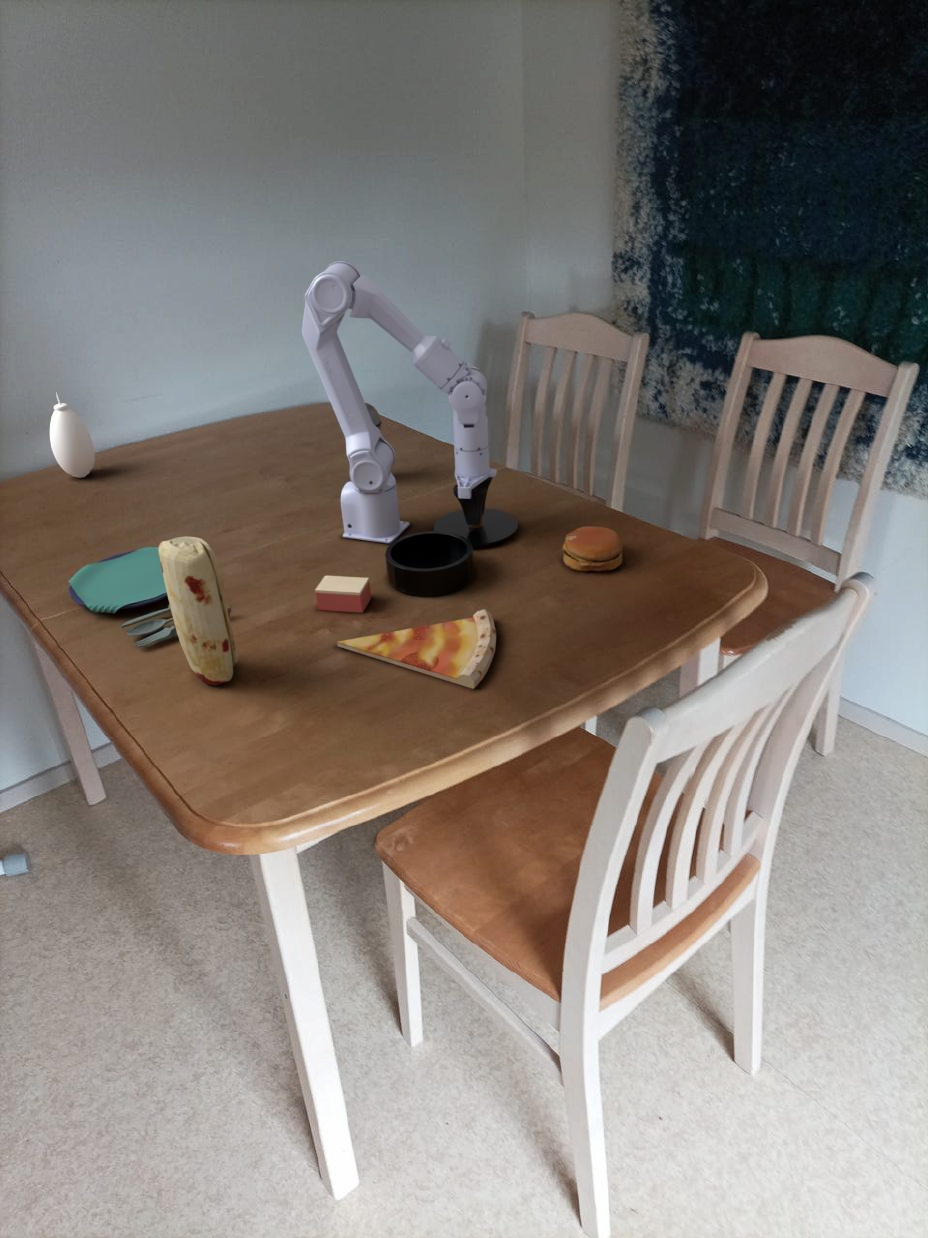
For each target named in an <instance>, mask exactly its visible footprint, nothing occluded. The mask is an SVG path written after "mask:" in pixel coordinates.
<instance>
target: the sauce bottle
mask: <svg viewBox="0 0 928 1238" xmlns="http://www.w3.org/2000/svg"><path fill="white" fill-rule="evenodd" d="M55 396H56V399H57V404H55V405H53V413H52V415H51V418H50V424H49V442H50V447H51V450H52V453H53V456H54V458H55V460H56V462H57V464H58V465H59V467H60V468H61V469H62V470H63V471H64V472H65V473H66V474H68V475H71V476H72V477H74V478H78V479H82V478H85V477H86V476H87V475H89V474H90V472H91V471H92V470H93V469H94V466H95V462H96V450H95V444H94V441H93V439H92V437H91V434H90V432H89V430H88V429H87V427H86V425H85V424H84V422H83V421H82V420H81V419H80V417H79V416H78V415H77V414H76V412H75V411H74V410H72V409H71V408H69V405H68V404H67V403H66V402H65V403H63V402H61V397H60V395H59V394H58V392H57V391H56V392H55ZM84 473H85V474H84ZM73 474H74V475H73Z"/></svg>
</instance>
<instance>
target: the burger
mask: <svg viewBox="0 0 928 1238" xmlns="http://www.w3.org/2000/svg"><path fill="white" fill-rule="evenodd" d="M623 547H624V546H623V542H622V540H621V537H620V535H619V534H618V533H617V532H616V531H615V530H613V529H610V528H608V527H603V526H594V525H593V526H589V525H588V526H587V525H586V526H580V527H578V528H577V529H575V530H573V531H571V532H569V533H567V534H566V535H565V538H564V542H563V545H562V550H561V552H562V554H563V557H562V558H563V559H562V560H563V563H564V565H566V566H567V567H568V568H570V569H572V570H574V571H577V572H590V571H593V572H604V571H612V570H615V569H616V568H618V567H619V566H621V564H622V562H623V552H622V551H623Z"/></svg>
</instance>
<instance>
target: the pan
mask: <svg viewBox="0 0 928 1238" xmlns="http://www.w3.org/2000/svg"><path fill="white" fill-rule="evenodd" d="M384 558H385V566H386V568H385V569H386V577H387V580H388V583H389V585H390V587H392V589H394V590H395V591H396V592H399V593H401V594H403V595H407V596H412V597H420V598H429V597H432V598H433V597H440V596H446V595H449V594H452V593H455V592H458V591H460V590H461V589H463V588H465V587H466V586H468V585H469V584H470V583H471V582H472V580H473V579H474V576H475V575H474V574H475V572H474V570H475V567H474V566H475V565H474V547H473V546H472V545H471V543H470V541H469V540H467V539H466V538H464V537H463V536H460V535H457V534H454V533H449V532H442V531H434V530H432V531H431V530H430V531H429V530H428V531H420V532H414V533H411V534H408V535H407V534H406V535H403V536H401V537H400V538H396V539H395V540H394V541H393V542H392V543H389V545H388V546H387V547H386V550H385V553H384Z"/></svg>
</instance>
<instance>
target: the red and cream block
mask: <svg viewBox="0 0 928 1238" xmlns="http://www.w3.org/2000/svg"><path fill="white" fill-rule="evenodd" d="M314 591H315V592H314V593H315V598H316V603H317V604H316V605H317V610H318V611H330V612H331V611H332V612H344V613H357V614H358V613H359V614H363V613H364V611H365V609H366V607H367V606H368V604H369V602H370V601H371V600H372V594H371V593H372V592H371V584H370V578H369V577H360V576H359V577H358V576H342V575H326V574H325V575H324V576H323V578H322V579H321V581H320V583H318V585H317V586H316V588H314Z"/></svg>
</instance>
